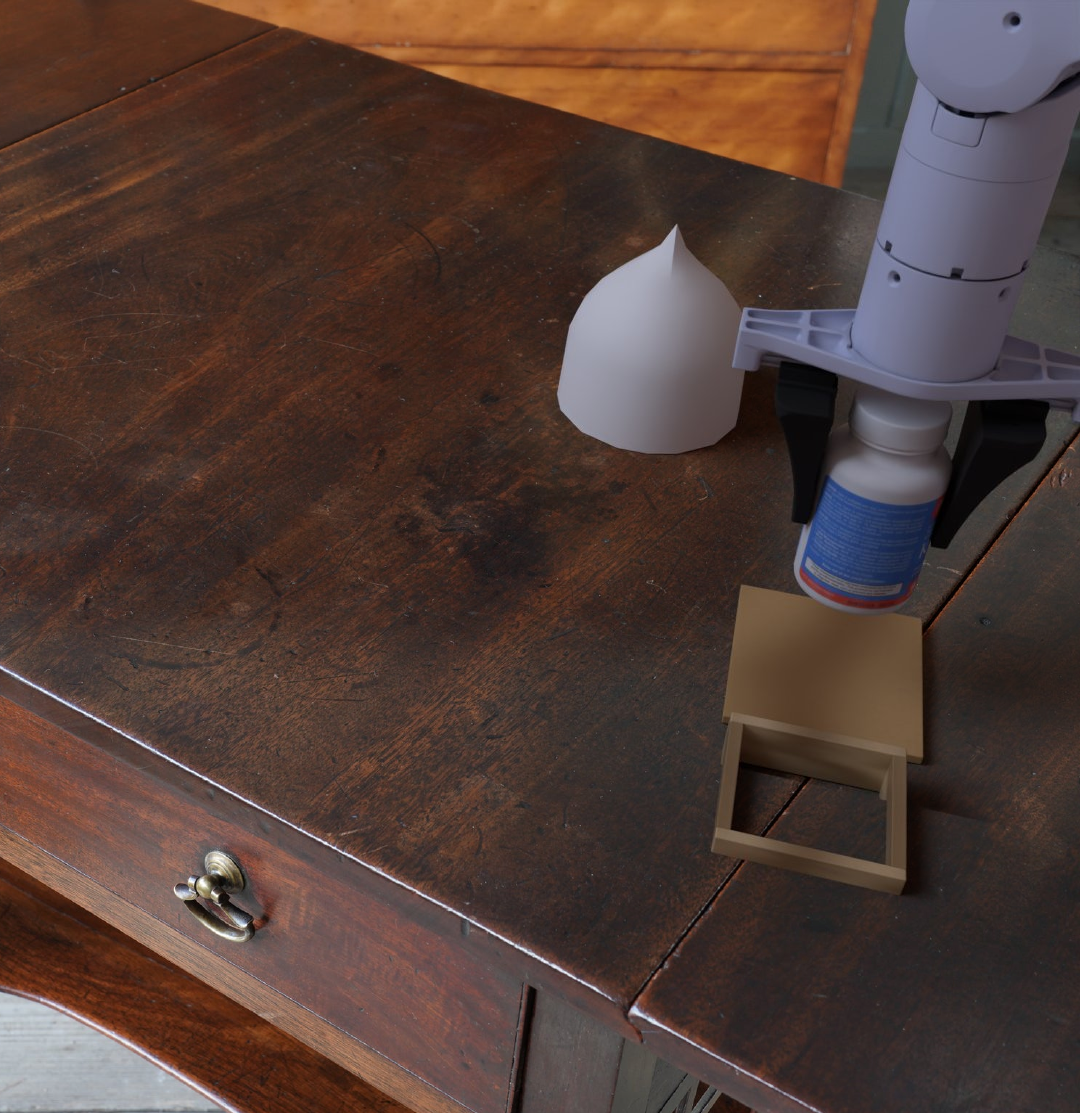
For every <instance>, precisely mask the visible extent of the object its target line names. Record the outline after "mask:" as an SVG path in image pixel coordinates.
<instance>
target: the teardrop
mask: <svg viewBox="0 0 1080 1113" xmlns="http://www.w3.org/2000/svg"><path fill="white" fill-rule="evenodd" d="M742 313H743V311H742V310H741V308H740V307H739V304H738V303H737V301H736V300H735V298H734V297H733V295H732V294H731V292H730V290H729V289H728V288H727V286H726V285H725V283H724V282H723V281H722V280H721V279H720V278H718V276H717V275H715V274H714V273H713V272H712V271H711V270H709V269H708V268H707V267H706V266H705V265H704V264H703V263H702V262H701V261H700V260H698V259H697V258H696V256H695V255H694V254H693V253H692V252H691V251H690V250H689V249H688V247H687V246H686V243H685V241H684V237H683V236H682V233H681V230H680V228H679V225H678V223H676V224H675V225H674V227H673V228H672V229H671V231H670V232H669V234H667V236H666V237H665V238H664V240H663V241H662V242H661V244H659V245H657V246H655V247H654V248H652V249H650V250H648V251H646V252H644V253H642V254H641V255H639V256H637V257H635V258H633V259H632V260H629V261H628V262H626V263H624V264H623V265H620V266H619V267H618V268H615V270H613V271H611V272H610V273H608V274H606V275H605V276H604V277H602V278H601V279H600V280H599V281H598V282H597V283H596V284H595V285H594V287H593V288H592V289H590V291H588V293H587V294H586V295H585V296H584V298H583V299H582V301H581V302H580V305H579V306H578V309H577V310H576V313H575V314H574V316H573V319H572V321H571V322H570V324H569V326H568V332H567V337H566V342H565V348H564V354H563V359H562V365H561V370H560V375H559V382H558V387H557V391H556V392H557V393H556V395H557V401H558V405H559V410H560V411H561V413H563V414H564V415H565V417H566V418H567V419H568V420H569V421H571V423H572V424H573V425H574V426H575V427H576V428H577V429H578V430H579V431H580V432H581V433H583V434H585V435H587V436H590V437H592V438H594V439H597V440H599V441H601V442H603V443H605V444H607V445H610V446H612V447H614V448H617V449H620V450H621V449H622V450H626V451H631V452H636V453H642V454H647V455H648V454H649V455H652V454H653V455H655V454H656V455H657V454H658V455H665V454H667V455H668V454H669V455H670V454H671V455H677V454H683V453H686V452H690V451H694V450H698V449H702V448H705V447H709V446H714V445H716V444H717V443H718V442H719V441H720V440H721V439H722V438H723V437H724V436H726V435H728V433H729V432H731V431H732V430H733V429H734V428H736V425H737V420H738V417H739V412H740V405H741V400H742V399H741V398H742V392H743V386H744V378H745V373H746V370H740V369H734V368H733V367H732V364H733V358H734V353H735V347H736V342H737V337H738V332H739V327H740V323H741V318H742Z"/></svg>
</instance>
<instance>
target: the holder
mask: <svg viewBox="0 0 1080 1113" xmlns="http://www.w3.org/2000/svg"><path fill="white" fill-rule="evenodd" d="M724 736H725V737H724V740H723V744H722V748H721V756H720V760H719V761H720V763H719V765H721V774H720V781H719V789H718V796H717V803H716V810H715V819H714V825H713V833H712V842H711V849H710V852H711V853H713V854H717V855H722V856H725V857H729V858H734V859H739V860H744V861H748V862H752V863H756V864H761V865H764V866H770V867H773V868H777V869H782V870H787V871H790V872H794V873H795V872H796V873H799V874H803V875H809V876H813V877H818V878H821V879H826V880H831V881H833V882H838V883H843V884H848V885H852V886H856V887H860V888H864V889H868V890H873V891H876V892H881V893H886V894H890V895H895V896H901V894H902V892H903V890H904V887H905V885H906V883H907V862H908V861H907V858H908V856H907V851H908V850H907V841H908V840H907V838H908V836H907V831H908V829H907V825H908V820H907V817H908V816H907V813H908V812H907V811H908V809H907V808H908V806H907V804H908V803H907V802H908V798H907V797H908V794H907V793H908V762H907V749H906V748H903V747H898V746H893V745H889V744H884V743H879V742H874V741H869V740H865V739H860V738H855V737H850V736H845V735H841V734H836V733H831V732H826V731H821V730H817V729H812V728H807V727H802V726H798V725H793V724H788V723H783V722H778V721H774V720H769V719H764V718H759V717H754V716H750V715H745V714H740V713H735V712H732V713H731V716H730V720H729V724H727V729H726V732H725V735H724ZM740 763H743V764H748V765H752V766H757V767H761V768H766V769H770V770H775V771H780V772H785V773H790V774H794V775H798V776H802V777H803V776H804V777H809V778H813V779H817V780H822V781H827V782H830V783H836V784H841V785H844V786H849V787H854V788H859V789H864V790H868V791H872V792H876V793H877V792H878V793H879V796H878V799H879V800H882V801H886V824H885V826H886V828H885V829H886V830H885V832H886V833H885V864H884V863H878V862H874V861H870V860H865V859H862V858H856V857H852V856H847V855H843V854H839V853H834V852H831V851H827V850H826V851H825V850H822V849H817V848H814V847H808V846H803V845H798V844H794V843H790V842H786V841H781V840H777V839H773V838H768V837H763V836H759V835H755V834H751V833H746V832H741V831H737V830H733V829H732V822H733V815H734V808H735V807H734V806H735V799H736V790H737V782H738V775H739V767H740V766H739V765H740Z"/></svg>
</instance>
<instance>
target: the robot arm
mask: <svg viewBox="0 0 1080 1113" xmlns="http://www.w3.org/2000/svg"><path fill="white" fill-rule="evenodd" d="M903 31H904V32H903V33H904V45H905V49H906V54H907V58H908V60H909V63H910V66H911V68H912V71H913V72H914V74H915V75H916V77H917V80H916V85H915V88H914V91H913V96H912V101H911V104H910V107H909V111H908V115H907V119H906V121H905V124H904V128H903V132H902V135H901V138H900V143H899V146H898V151H897V154H896V158H895V162H894V166H893V169H892V173H891V177H890V181H889V185H888V188H887V193H886V196H885V200H884V204H883V208H882V212H881V215H880V219H879V223H878V227H877V229H876V235H875V238H874V242H873V247H872V250H871V253H870V257H869V262H868V265H867V269H866V273H865V277H864V280H863V285H862V288H861V289H862V290H861V292H860V296H859V300H858V302H857V303H858V304H857V308H833V309H831V308H829V309H828V308H825V309H791V310H790V309H766V308H765V309H763V308H758V307H757V308H755V307H748V306H745V307H743V308H742V318H741V323H740V327H739V332H738V337H737V342H736V347H735V353H734V358H733V364H732V367H733V368H734V369H740V370H745V371H748V372H756V371H758V370H759V369H760V366H766V367H772V368H773V367H774V368H778V369H777V376H776V384H775V390H774V407H775V412H776V413H775V414H776V416H777V418H776V419H777V421H778V423H779V425H780V428H781V430H782V433H783V437H784V441H785V443H786V446H787V451H788V455H789V462H790V466H791V475H792V482H793V483H792V485H793V498H792V506H791V507H792V509H791V519H790V520H791V522H792V523H794V524H800V525H803V524H805V525H807V524H808V520H809V517H810V514H811V511H812V504H813V498H814V492H815V485H816V479H817V473H818V469H819V466H820V462H821V459H822V456H823V452H824V449H825V446H826V443H827V440H828V437H829V436H830V434H831V431H832V428H833V425H834V422H835V410H836V399H837V396H838V391H839V378H843V379H850V380H853V381H856V382H859V383H862V384H864V383H865V384H868V385H871V386H874V387H877V388H880V389H882V390H885V391H888V392H891V393H895V394H898V395H901V396H905V397H910V398H915V399H921V400H930V401H949V402H967V401H968V402H967V407H966V411H965V414H964V418H963V422H962V426H961V430H960V433H959V437H958V440H957V443H956V447H955V450H954V453H953V456H952V457H951V460H952V475H951V479H950V482H949V485H948V489H947V492H946V495H945V498H944V501H943V504H942V507H941V510H940V513H939V516H938V519H937V522H936V525H935V528H934V531H933V534H932V537H931V540H930V548H933V549H934V548H935V549H941V550H947V549H948V548H949V546H950V544H951V543H952V541H953V540H954V538H955V536H956V535H957V533H958V532H959V530H960V529H961V528H962V526H963V525H964V524H965V522H966V521H967V520H968V518H969V517H970V516H971V514H973V512H975V510H976V509H977V508H978V507H979V505H980V504H981V503H982V502H983V501H984V500H985V499H986V498H987V497H988V496H989V494H990V493H992V492H993V491H994V490H995V489H996V488H997V487H998V486H1000V484H1001V483H1004V481H1005V480H1007V479H1008V478H1009V477H1010V476H1012V475H1014V474H1015V473H1016V472H1017V471H1018V470H1021V468H1023V467H1024V466H1026V465H1027V464H1030V463H1031V462H1032V461H1034V460H1035V459H1036V457H1037V456H1038V455H1039V454H1040V452H1041V450H1042V449H1043V447H1044V445H1045V442H1046V439H1047V435H1048V432H1047V425H1046V424H1047V423H1046V420H1047V417H1048V416H1049V412H1050V411H1055V412H1062V413H1068V414H1070V416H1071V420H1073V421H1074V422H1076V423H1079V424H1080V354H1077V353H1073V352H1069V351H1066V350H1062V349H1059V348H1056V347H1052V346H1050V345H1046V344H1043V343H1039V342H1037V341H1032V340H1029V339H1027V338H1023V337H1020V336H1017V335H1014V334H1010V333H1008V330H1009V327H1010V324H1011V321H1012V319H1013V316H1014V311H1015V309H1016V306H1017V303H1018V300H1019V297H1020V294H1021V291H1022V288H1023V285H1024V282H1025V279H1026V276H1027V274H1028V271H1029V268H1030V265H1031V261H1032V258H1033V255H1034V252H1035V249H1036V247H1037V244H1038V240H1039V238H1040V234H1041V233H1042V232H1041V231H1042V229H1043V225H1044V223H1045V221H1046V220H1045V219H1046V217H1047V214H1048V211H1049V208H1050V205H1051V201H1052V199H1053V197H1054V193H1055V190H1056V187H1057V184H1058V182H1059V179H1060V176H1061V173H1062V170H1063V166H1064V165H1065V161H1066V159H1067V156H1068V152H1069V148H1070V142H1071V138H1072V135H1073V133H1074V129H1075V127H1076V123H1077V120H1078V117H1079V114H1080V0H909V2H908V5H907V9H906V13H905V18H904V30H903Z"/></svg>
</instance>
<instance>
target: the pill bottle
mask: <svg viewBox="0 0 1080 1113" xmlns="http://www.w3.org/2000/svg"><path fill="white" fill-rule="evenodd" d="M953 414H954V410H953V405H952V403H951V401H930V400H921V399H915V398H910V397H905V396H901V395H898V394H895V393H891V392H888V391H885V390H882V389H880V388H877V387H874V386H871V385H868V384H865V383H862V384H861V385H859V387H857V388H856V390H855V392H854V396H853V398H852V402H851V405H850V409H849V411H848V415H847V416H848V417H847V422H846V423H843V424H842V425H840V426H837V428H835V429H834V430H833V431H832V432H830V434H829V437H828V440H827V443H826V446H825V449H824V452H823V456H822V459H821V462H820V466H819V469H818V473H817V479H816V485H815V492H814V498H813V504H812V511H811V514H810V517H809V520H808V524H807V525H805V524H802V527H801V532H800V536H799V539H798V543H797V547H796V551H795V556H794V561H793V573H794V577H795V579H796V582H797V583H798V585H799V587H800V588H801V589H802V591H803V592H805V593H806V594H807V595H808V597H811V598H813V599H814V600H816V601H818V602H819V603H821V604H823V605H825V606H827V607H829V608H832V609H834V610H837V611H840V612H844V613H848V614H853V615H861V616H877V615H883V614H887V613H894V612H895V611H897V610H899V609H901V608H902V607H903V606H905V605H906V604H907V603H908V602H909V600H910V599H911V597H912V595H913V593H914V591H915V589H916V586H917V584H918V580H919V577H920V573H921V570H922V567H923V564H924V561H925V558H926V555H927V553H928V549H929V546H930V544H931V537H932V534H933V531H934V528H935V525H936V522H937V519H938V516H939V513H940V510H941V507H942V504H943V501H944V498H945V495H946V492H947V489H948V485H949V482H950V479H951V475H952V457H951V454H950V452H949V450H948V449H947V448H946V446H945V445H944V443H945V441H946V439H947V438H948V435H949V430H950V425H951V422H952V418H953Z"/></svg>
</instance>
